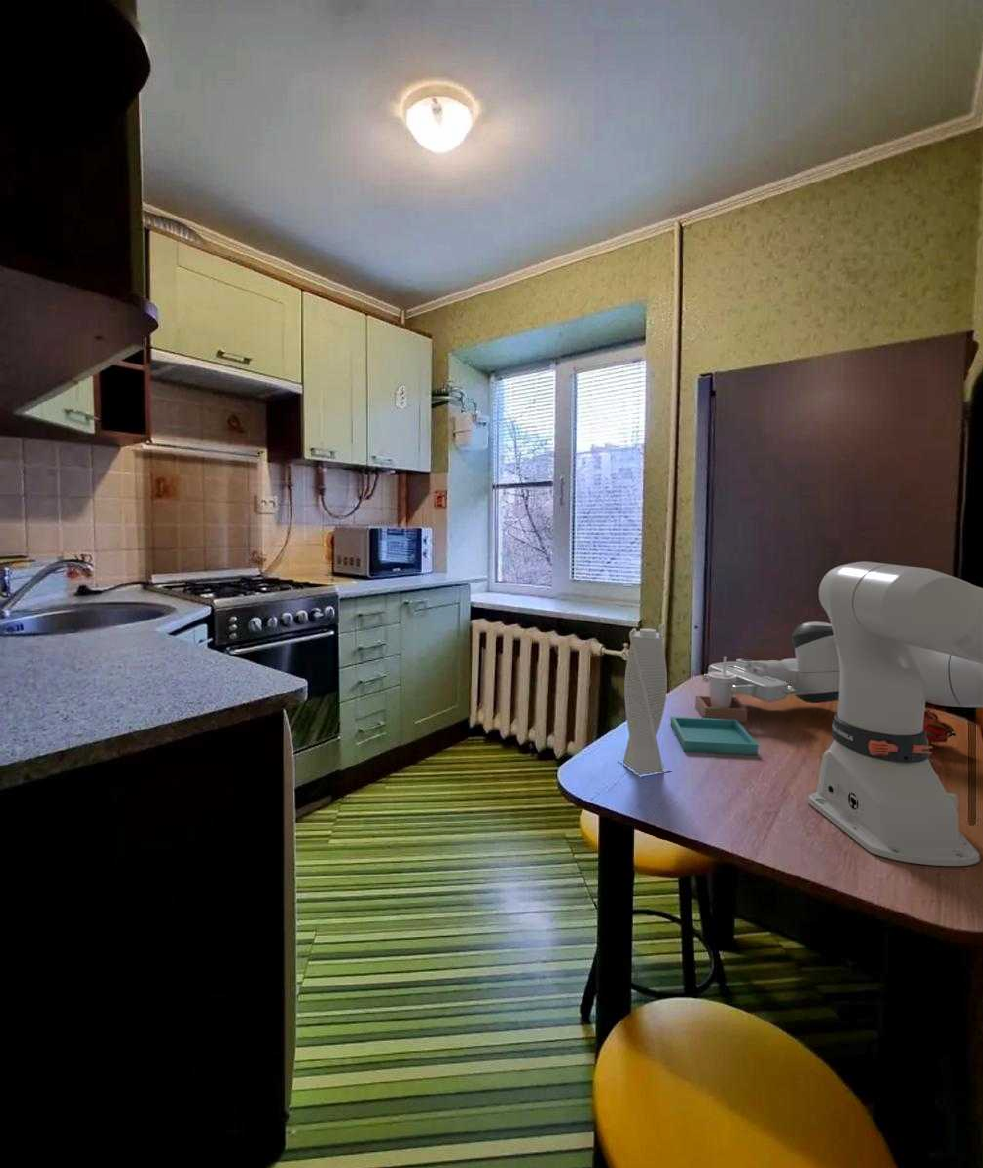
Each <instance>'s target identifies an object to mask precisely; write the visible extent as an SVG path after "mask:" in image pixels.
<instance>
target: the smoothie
mask: <svg viewBox="0 0 983 1168" xmlns="http://www.w3.org/2000/svg"><path fill="white" fill-rule="evenodd" d="M723 662H724V666H723V672H718V671H715V672H709V673H708V672H707V674H708V676H707V678H708V679H709V683H708V686H709V689H708V690H709V696H710V701H711V707H719V708H730V705H731V699H732V697H733V695H734V693H732V692H731V691H730V690H731V685H734V683H735V682H736V675H734V674H731V673H727V672H726V662H727V656H723Z"/></svg>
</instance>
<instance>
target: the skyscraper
mask: <svg viewBox="0 0 983 1168" xmlns="http://www.w3.org/2000/svg"><path fill="white" fill-rule="evenodd" d="M665 634H666V629H665V624H664V623H662V622H660V624H659V626H658V632H657V630H656V629H654V628H649V627H648V628H640V629H639V630H638V631H637V629H636V628H635V627H633V628H632V629H631V630H630V631H629V633H628V638H629V640H630V645H629V647H628V648H629V649H628V652H627V653H628V654H627V659H626V665H625V672H624V682H623V683H624V684H623V686H624V688H623V690H624V692H623V696H624V707H625V709H624V710H625V717H626V719H625V720H626V725H627V729H628V730H627V731H628V735H629V736H628V740H627V743H626V747H625V752H624V757H623V759H622V760H623V764H625V765H626V766H627V767H630V768H631V769H633V770H634V771H635V772H636V773H638V775H642V774H650V773H655V772H663V767H664V766H665V765H663V764H662V759H661V753H660V748H659V743H658V739H657V735H658V731H659V729H660V726H661V722H662V719H663V714H664V711H665V706H666V699H667V690H668V676H667V675H668V674H667V663H666V657H665V651H664V650H665V649H664V643H663V639H664V637H665ZM662 765H663V767H662Z"/></svg>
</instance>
